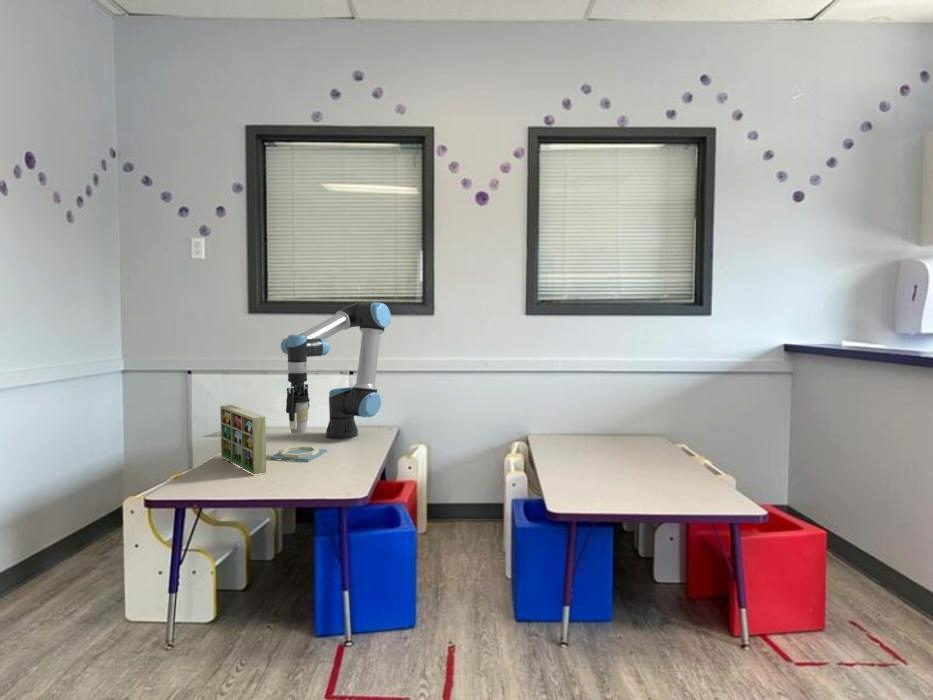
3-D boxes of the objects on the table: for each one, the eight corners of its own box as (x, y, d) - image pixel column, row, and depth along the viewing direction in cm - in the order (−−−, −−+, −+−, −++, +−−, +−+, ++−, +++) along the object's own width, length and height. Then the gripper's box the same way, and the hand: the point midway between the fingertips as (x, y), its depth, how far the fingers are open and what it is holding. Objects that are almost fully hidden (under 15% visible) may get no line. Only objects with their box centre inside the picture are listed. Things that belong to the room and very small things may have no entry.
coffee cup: (303, 435, 240) (303, 398, 239) (282, 434, 242) (281, 397, 241) (314, 430, 249) (313, 395, 248) (293, 429, 251) (292, 394, 250)
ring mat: (290, 450, 256) (290, 444, 256) (327, 452, 253) (326, 446, 253) (269, 459, 240) (269, 453, 240) (308, 462, 236) (308, 456, 236)
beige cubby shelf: (221, 458, 242) (219, 405, 241) (232, 456, 245) (231, 404, 244) (254, 476, 216) (252, 417, 215) (266, 474, 219) (265, 416, 218)
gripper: (293, 375, 233) (294, 432, 234) (317, 369, 253) (318, 422, 255) (275, 374, 234) (276, 431, 236) (301, 369, 255) (302, 421, 256)
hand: (298, 426), depth 245 cm, fingers closed on coffee cup, 8 cm apart
